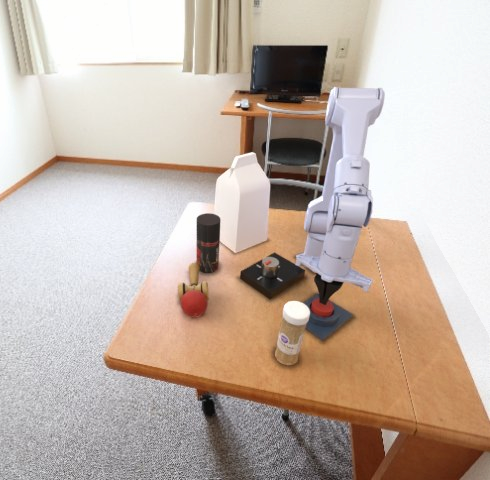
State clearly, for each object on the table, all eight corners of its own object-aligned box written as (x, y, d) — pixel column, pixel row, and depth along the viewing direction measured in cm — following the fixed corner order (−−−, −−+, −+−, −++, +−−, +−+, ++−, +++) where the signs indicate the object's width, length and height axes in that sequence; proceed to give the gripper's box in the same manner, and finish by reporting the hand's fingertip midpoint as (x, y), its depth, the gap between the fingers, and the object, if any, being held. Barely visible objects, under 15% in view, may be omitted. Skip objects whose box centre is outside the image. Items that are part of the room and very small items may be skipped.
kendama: (176, 276, 94) (173, 319, 78) (180, 256, 91) (178, 296, 75) (205, 280, 94) (208, 324, 78) (209, 260, 91) (213, 301, 75)
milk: (235, 253, 100) (241, 167, 85) (211, 234, 108) (213, 153, 94) (267, 240, 104) (278, 156, 90) (242, 223, 113) (248, 144, 98)
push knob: (318, 300, 80) (320, 295, 79) (336, 311, 77) (337, 306, 76) (306, 308, 78) (308, 303, 77) (324, 320, 75) (325, 315, 74)
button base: (317, 295, 84) (319, 287, 83) (352, 317, 78) (355, 309, 77) (287, 316, 79) (289, 308, 78) (322, 341, 73) (325, 333, 71)
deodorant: (217, 274, 92) (219, 226, 84) (195, 272, 93) (194, 224, 85) (219, 261, 97) (221, 214, 88) (198, 259, 98) (198, 212, 90)
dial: (268, 265, 90) (269, 253, 88) (280, 273, 87) (282, 261, 85) (257, 272, 88) (259, 259, 86) (269, 280, 86) (271, 267, 83)
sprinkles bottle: (270, 358, 70) (279, 310, 62) (280, 344, 73) (290, 296, 65) (292, 370, 67) (304, 322, 60) (302, 355, 70) (314, 307, 63)
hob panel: (273, 259, 96) (274, 251, 95) (304, 277, 90) (305, 269, 88) (239, 278, 90) (240, 270, 89) (269, 299, 84) (271, 291, 82)
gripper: (293, 247, 70) (284, 297, 77) (372, 275, 62) (353, 327, 69) (307, 232, 74) (297, 280, 82) (382, 255, 66) (363, 307, 74)
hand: (323, 301), depth 76 cm, fingers closed
